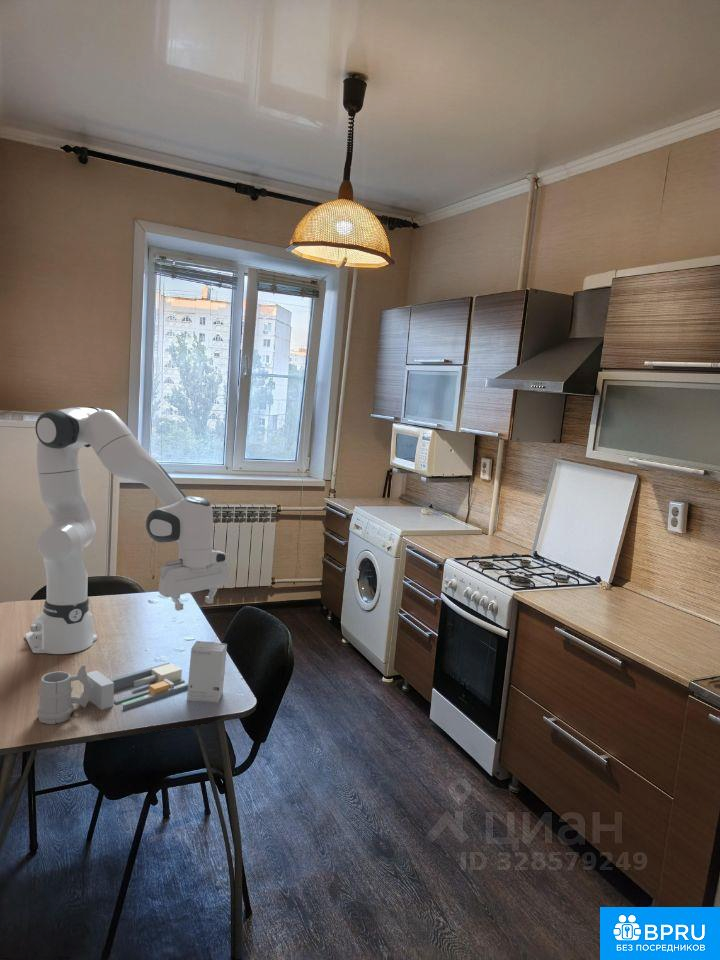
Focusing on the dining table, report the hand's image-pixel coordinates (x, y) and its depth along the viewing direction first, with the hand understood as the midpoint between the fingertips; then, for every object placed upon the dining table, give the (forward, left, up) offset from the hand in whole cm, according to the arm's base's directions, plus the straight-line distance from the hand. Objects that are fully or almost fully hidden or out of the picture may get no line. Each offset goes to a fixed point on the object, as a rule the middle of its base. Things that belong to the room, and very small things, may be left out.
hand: (194, 606), depth 172 cm
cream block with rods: (+2, -11, -19) cm, 22 cm away
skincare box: (+14, -5, -21) cm, 25 cm away
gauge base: (0, -15, -20) cm, 25 cm away
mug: (-1, -34, -21) cm, 40 cm away
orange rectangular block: (+6, -13, -19) cm, 24 cm away
